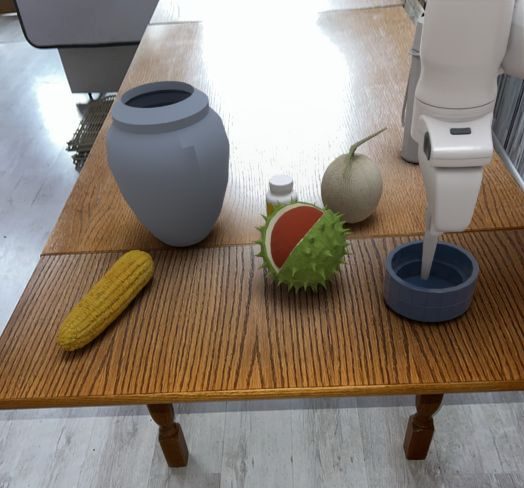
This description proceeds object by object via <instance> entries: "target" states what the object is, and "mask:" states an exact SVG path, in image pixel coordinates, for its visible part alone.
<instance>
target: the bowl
mask: <svg viewBox="0 0 524 488" xmlns="http://www.w3.org/2000/svg"><path fill="white" fill-rule="evenodd" d="M423 241H424V239H415V240H411V241H407V242H404V243H402V244H399V245H397V246H395V247H394V248H393V249H392V250H390V251H389V252H388V254H387V256H386V257H385V261H384V270H383V279H382V280H383V281H382V298H383V299H384V300H385V303H386V305H387V306H388V307H389V308H390V309H392V311H394V312H395V313H397V314H399V315H400V316H402V317H405V318H408V319H410V320H413V321H416V322H422V323H440V322H445V321H450V320H451V321H452V320H453V319H455V318H458V317H460V316H462V315H464V313H466V311H468V309H469V308H470V307H471V304H472V301H473V299H474V294H475V289H476V286H477V282H478V277H479V273H480V266H479V262H478V260H477V259H476V258H475V256H474V255H473V254H472V253H471V252H470V251H468V250H467V249H465V248H464V247H462V246H459V245H457V244H454V243H452V242H448V241H444V240H439V239H438V240H437V245H436V249H435V253H434V257H433V261H432V265H431V269H430V273H429V277H428V279H427V280H424V279H421V270H422V255H423Z"/></svg>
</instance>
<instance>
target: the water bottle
mask: <svg viewBox="0 0 524 488" xmlns="http://www.w3.org/2000/svg"><path fill="white" fill-rule="evenodd" d="M423 20H424V15H423V16H421V17H419V18H417V21H416V26H415V30H414V36H413V42H412V46H411V48H409V49H408V50H407V54H408V55H410V56H411V61H410V67H409V73H408V77H407V84H406V88H405V93H404V94H405V95H404V99H403V104H402V109H401V117H400V122H401V127H402V128H403V135H402V145H401V157H402V158H403V159H404V160H405V161H406V162H408V163H412V164H419V161H418V147H419V144H418V143H417V142H416V141H415V140H414V139H413V138H412V137H411V124H412V115H413V105H414V96H415V90H416V86H417V83H418V81H419V78H420V74H421V60H420V43H421V34H422V27H423Z"/></svg>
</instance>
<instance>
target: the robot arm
mask: <svg viewBox="0 0 524 488" xmlns="http://www.w3.org/2000/svg"><path fill="white" fill-rule="evenodd" d="M423 16H424V20H423V27H422V34H421V43H420V60H421V74H420V78H419V81H418V83H417V86H416V90H415V96H414V105H413V115H412V124H411V137H412V138H413V139H414V140H415V141H416V142H417V143H418V144H419V147H418V161H419V163H418V164H419V168H420V169H419V170H420V173H421V177H422V181H423V182H422V183H423V187H424V190H425V194H426V196H425V197H426V203H425V204H427V203H429V207H430V211H431V215H432V217H430V224H429V229H430V233H431V235H438V236H443V235H444V234H445V233H463V232H464V231H465V230H466V229H468V227H469V226H470V224H471V221H472V219H473V215H474V212H475V209H476V205H477V200H478V199H479V194H480V190H481V185H482V183H483V176H484V167H485V166H489V165H490V164H491V163H492V159H493V155H494V141H493V140H494V139H493V130H492V125H493V121H494V111H495V107H496V106H495V105H496V100H497V96H498V76H500V75H503V74H506V75H507V76H511V77H514V78H518V79H521V80H524V0H426V4H425V10H424V14H423ZM427 209H428V208H427V207H426V206H425V210H424V211H425V213H426V211H427Z"/></svg>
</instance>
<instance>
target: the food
mask: <svg viewBox="0 0 524 488" xmlns="http://www.w3.org/2000/svg"><path fill="white" fill-rule="evenodd" d="M154 265H155V264H154V260H153V258H152V256H151V255H150V253H148V252H146V251H144V250H142V251H141V250H140V249H133V250H130V251H127V252H126V253H124V254H123V255H122V256H120V257H119V259H117V260H116V261H115V263H113V265H112V266H111V267H110V268H109V270H107V271H106V272H105V274H104V275H103V276H102V277H101V278H100V279H99V280H98V281H97V282H96V283H94V285H93V286H92V287H90V290H89V291H88V292H87V293H86V294H85V296H83V298H82V299H80V301H79V302H78V303H77V304H75V306H74V307H73V308H72V309H71V311H70V312H69V314H68V315H67V316H66V317H65V318H64V320H63V322H62V323H61V325H60V327H59V328H58V330H59V331H58V332H57V335H56V343H57V346H59V348H60V349H63V350H64V351H66V352H67V351H69V352H74V351H75V350H78V349H81V348H84V347H86V345H88V344H90V343H91V342H92V341H94V339H96V338H97V337H98V336H100V334H102V333H103V332H104V331H105V330H106V329H107V327H108V326H109V325H110V324H111V323H113V322H114V321H115V320H116V319H117V318H118V317H119V316H120V315H121V314H122V312H124V310H125V309H127V308H128V306H129V305H130V303H131V302H133V300H134V299H135V298H136V297H137V296H138V294H139V293H140V292H141V291H142V290H143V288H144V287H145V286H147V285H148V283H149V281H150V280H151V278H152V277H153V275H154Z"/></svg>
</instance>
